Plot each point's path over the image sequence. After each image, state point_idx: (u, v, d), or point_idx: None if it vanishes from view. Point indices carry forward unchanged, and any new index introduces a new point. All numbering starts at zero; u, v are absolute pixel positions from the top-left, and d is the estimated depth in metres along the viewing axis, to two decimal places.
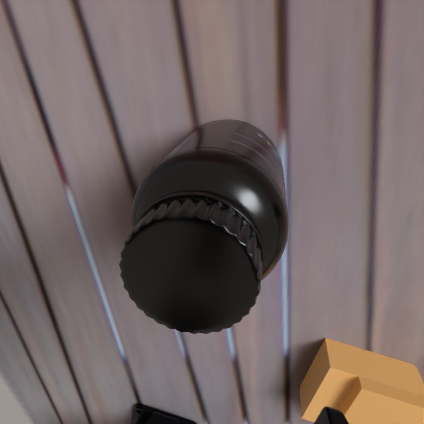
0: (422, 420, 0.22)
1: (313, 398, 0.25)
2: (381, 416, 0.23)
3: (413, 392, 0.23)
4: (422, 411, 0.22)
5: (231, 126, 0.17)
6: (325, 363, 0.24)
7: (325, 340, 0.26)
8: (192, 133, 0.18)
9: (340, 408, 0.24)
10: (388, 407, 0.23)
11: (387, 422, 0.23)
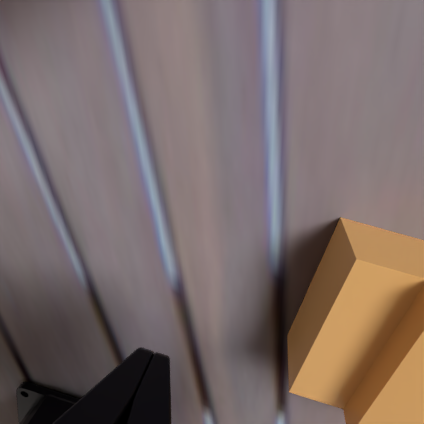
0: None
1: (315, 343, 0.11)
2: None
3: None
4: None
5: None
6: (341, 262, 0.11)
7: (340, 221, 0.12)
8: None
9: (377, 365, 0.11)
10: None
11: None
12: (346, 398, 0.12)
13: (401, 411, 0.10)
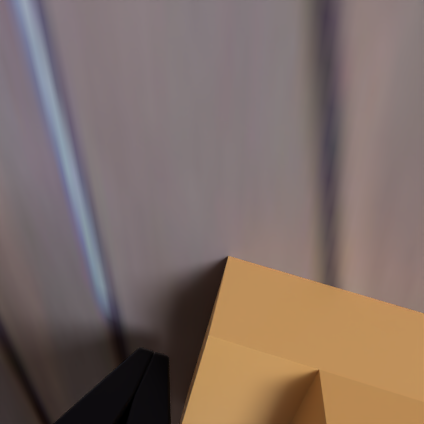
0: None
1: None
2: None
3: None
4: None
5: None
6: (209, 327, 0.07)
7: (227, 261, 0.08)
8: None
9: None
10: None
11: None
12: None
13: None
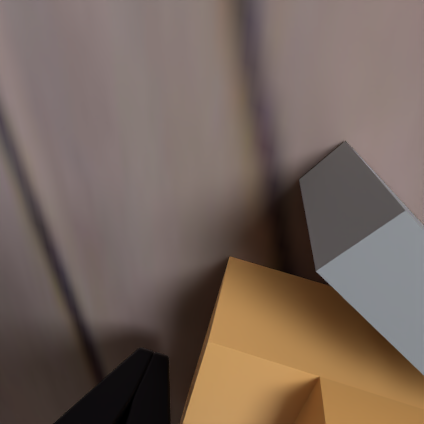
0: None
1: None
2: None
3: None
4: None
5: None
6: (208, 331, 0.07)
7: (228, 264, 0.08)
8: None
9: None
10: None
11: None
12: None
13: None
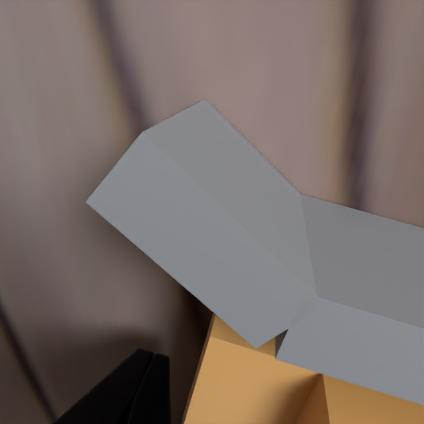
0: None
1: None
2: None
3: None
4: None
5: None
6: (211, 328, 0.07)
7: None
8: None
9: None
10: None
11: None
12: None
13: None
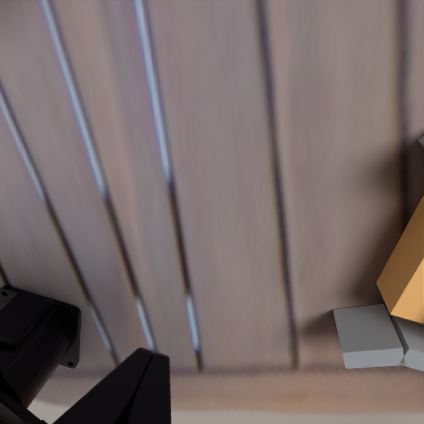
0: None
1: (414, 275, 0.16)
2: None
3: None
4: None
5: None
6: None
7: None
8: None
9: None
10: None
11: None
12: None
13: None
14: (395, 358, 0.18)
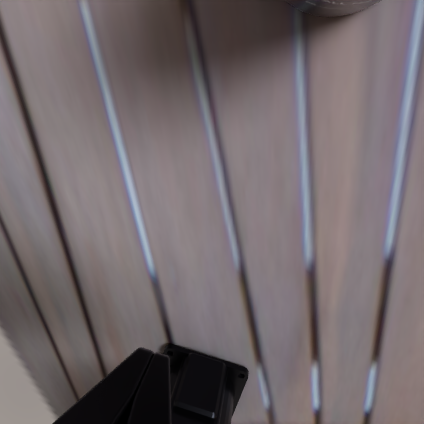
0: None
1: None
2: None
3: None
4: None
5: None
6: None
7: None
8: None
9: None
10: None
11: None
12: None
13: None
14: None
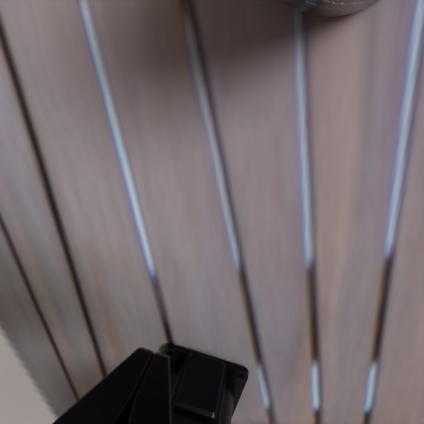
0: None
1: None
2: None
3: None
4: None
5: None
6: None
7: None
8: None
9: None
10: None
11: None
12: None
13: None
14: None
